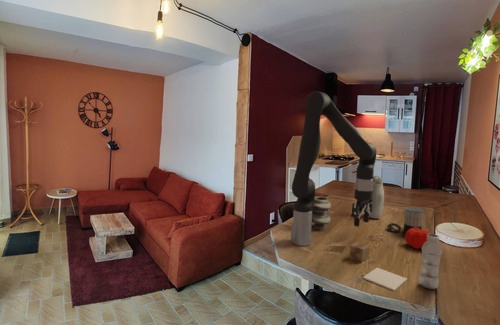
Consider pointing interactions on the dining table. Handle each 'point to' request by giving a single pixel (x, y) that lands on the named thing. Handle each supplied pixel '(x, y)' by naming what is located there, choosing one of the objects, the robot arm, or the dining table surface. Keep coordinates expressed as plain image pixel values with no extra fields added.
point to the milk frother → (409, 220)
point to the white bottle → (377, 198)
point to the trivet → (385, 279)
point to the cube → (359, 252)
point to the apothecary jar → (320, 213)
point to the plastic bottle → (430, 262)
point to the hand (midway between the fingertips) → (361, 224)
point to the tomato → (416, 237)
